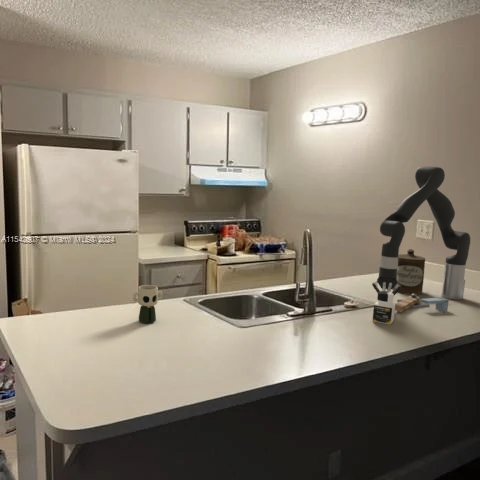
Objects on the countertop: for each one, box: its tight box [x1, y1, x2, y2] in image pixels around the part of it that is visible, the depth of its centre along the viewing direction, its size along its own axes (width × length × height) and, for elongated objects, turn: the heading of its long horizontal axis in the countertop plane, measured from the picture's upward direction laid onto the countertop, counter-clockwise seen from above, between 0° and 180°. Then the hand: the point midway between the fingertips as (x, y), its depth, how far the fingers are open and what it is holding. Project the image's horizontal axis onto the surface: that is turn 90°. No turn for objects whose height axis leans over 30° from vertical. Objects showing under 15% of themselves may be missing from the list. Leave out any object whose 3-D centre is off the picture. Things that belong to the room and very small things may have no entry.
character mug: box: [132, 284, 163, 324], centre depth 171 cm, size 11×7×13 cm, turn 119°
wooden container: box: [391, 248, 426, 295], centre depth 242 cm, size 15×15×22 cm
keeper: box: [420, 297, 450, 313], centre depth 208 cm, size 12×4×5 cm, turn 112°
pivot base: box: [396, 293, 431, 309], centre depth 217 cm, size 10×10×5 cm
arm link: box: [395, 295, 421, 313], centre depth 209 cm, size 24×5×2 cm, turn 142°
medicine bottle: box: [372, 290, 396, 325], centre depth 188 cm, size 7×7×12 cm
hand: (384, 305), depth 206 cm, fingers closed
